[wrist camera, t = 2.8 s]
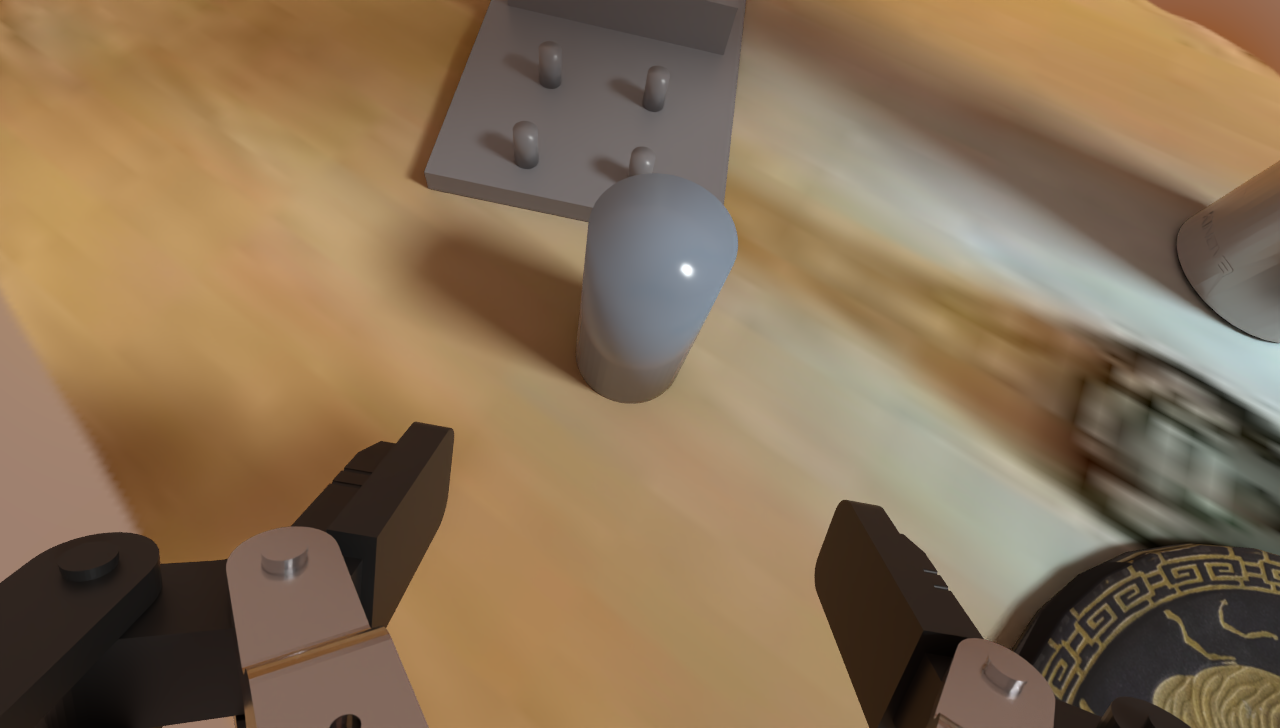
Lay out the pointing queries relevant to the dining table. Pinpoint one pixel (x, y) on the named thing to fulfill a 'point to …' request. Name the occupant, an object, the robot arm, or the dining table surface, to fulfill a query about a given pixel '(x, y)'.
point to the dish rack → (591, 101)
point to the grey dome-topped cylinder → (649, 282)
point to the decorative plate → (1167, 635)
